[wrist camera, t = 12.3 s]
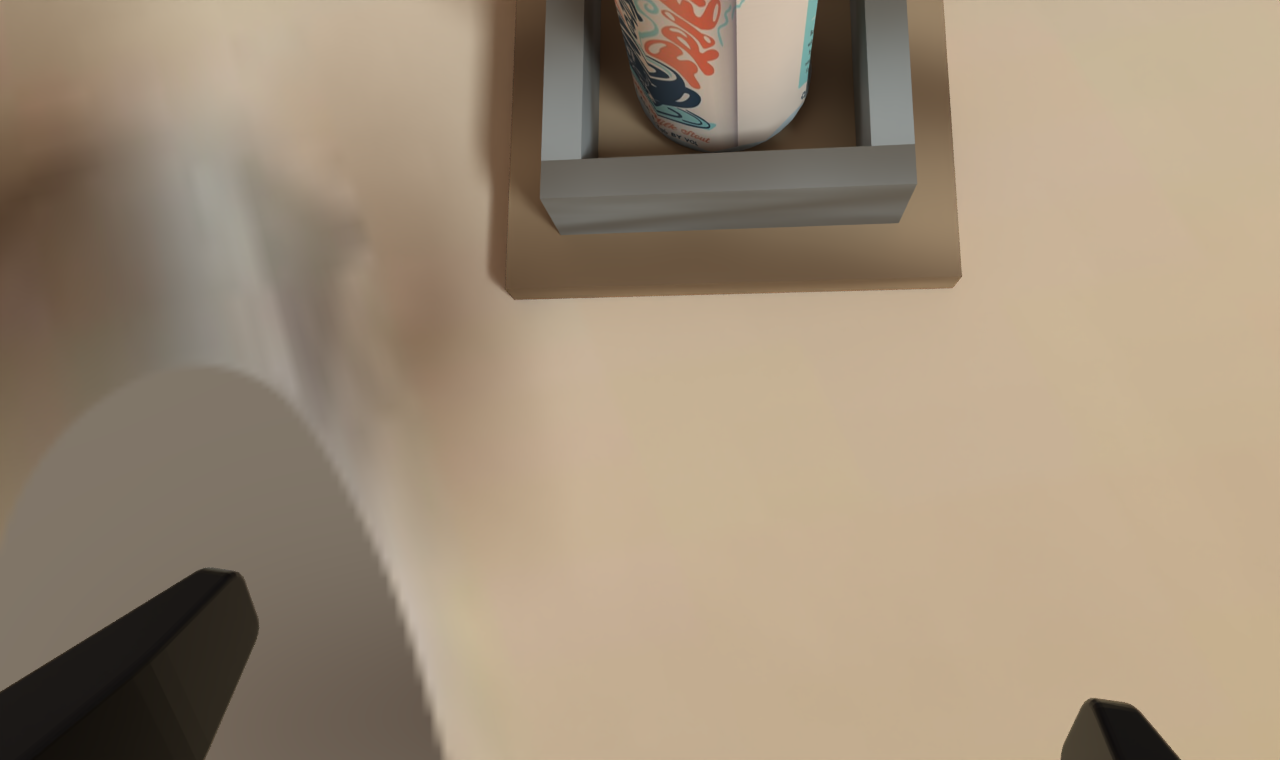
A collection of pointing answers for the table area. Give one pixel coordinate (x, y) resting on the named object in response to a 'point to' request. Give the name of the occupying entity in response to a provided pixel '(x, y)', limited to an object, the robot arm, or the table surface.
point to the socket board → (732, 167)
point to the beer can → (719, 67)
